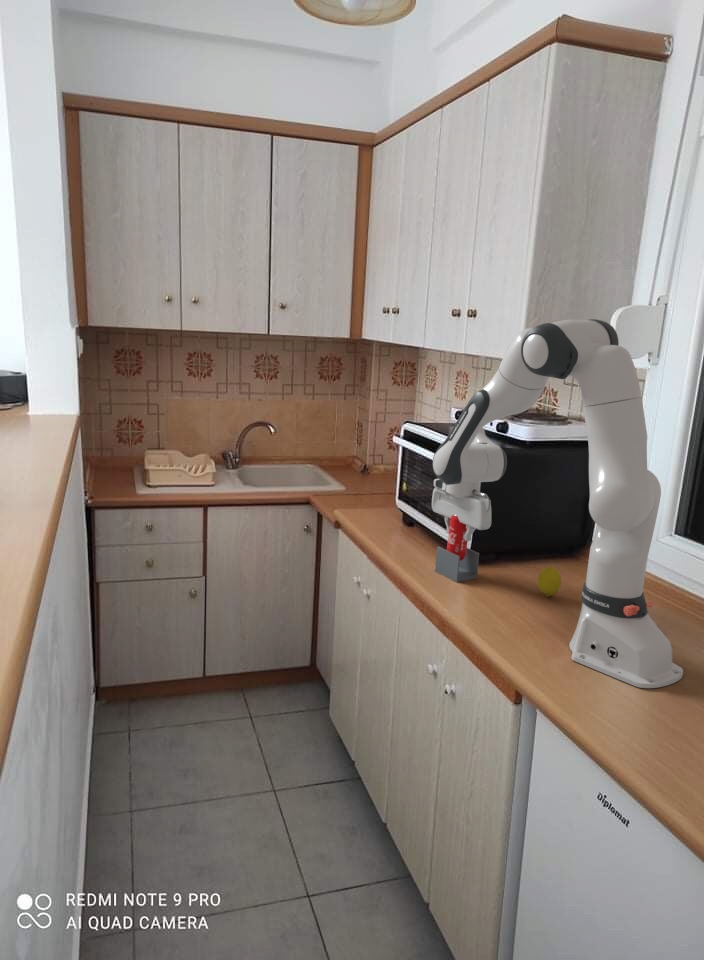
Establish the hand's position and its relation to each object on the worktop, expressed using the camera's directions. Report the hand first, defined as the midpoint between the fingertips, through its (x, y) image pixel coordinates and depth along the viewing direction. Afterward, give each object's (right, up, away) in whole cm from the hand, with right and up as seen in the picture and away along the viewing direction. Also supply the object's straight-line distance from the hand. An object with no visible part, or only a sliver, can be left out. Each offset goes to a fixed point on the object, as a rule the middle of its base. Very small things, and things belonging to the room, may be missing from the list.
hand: (458, 536), depth 189 cm
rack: (0, -10, +2) cm, 11 cm away
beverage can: (-1, -6, +1) cm, 6 cm away
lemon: (+21, -14, -10) cm, 27 cm away
